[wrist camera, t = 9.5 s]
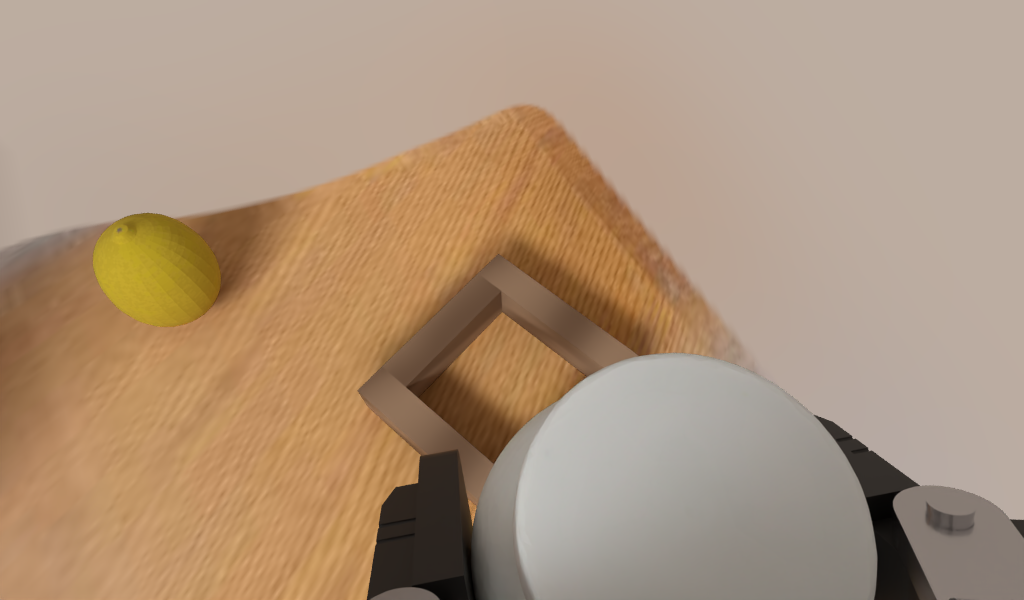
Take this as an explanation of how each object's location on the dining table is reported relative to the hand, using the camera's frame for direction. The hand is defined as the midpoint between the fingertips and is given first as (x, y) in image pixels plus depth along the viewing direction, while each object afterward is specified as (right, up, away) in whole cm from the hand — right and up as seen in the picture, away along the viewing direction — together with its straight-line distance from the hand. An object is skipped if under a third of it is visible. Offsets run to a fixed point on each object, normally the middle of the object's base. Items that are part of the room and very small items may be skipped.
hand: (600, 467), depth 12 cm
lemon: (-21, +3, +25) cm, 33 cm away
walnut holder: (-2, -2, +22) cm, 22 cm away
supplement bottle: (0, -4, +3) cm, 5 cm away
